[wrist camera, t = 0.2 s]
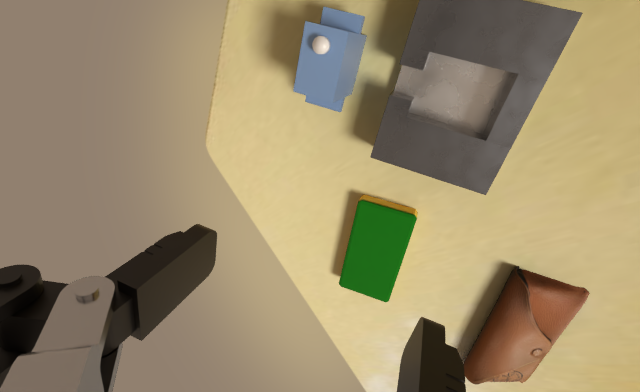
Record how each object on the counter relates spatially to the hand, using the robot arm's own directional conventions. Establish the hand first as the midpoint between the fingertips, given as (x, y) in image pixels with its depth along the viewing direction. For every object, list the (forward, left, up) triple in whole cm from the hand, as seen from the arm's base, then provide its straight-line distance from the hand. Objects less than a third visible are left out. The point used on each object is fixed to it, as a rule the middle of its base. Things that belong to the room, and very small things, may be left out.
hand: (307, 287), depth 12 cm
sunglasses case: (+20, +23, -29) cm, 42 cm away
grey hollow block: (-5, +4, -28) cm, 29 cm away
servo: (-5, -8, -28) cm, 30 cm away
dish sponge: (+16, +2, -29) cm, 33 cm away
